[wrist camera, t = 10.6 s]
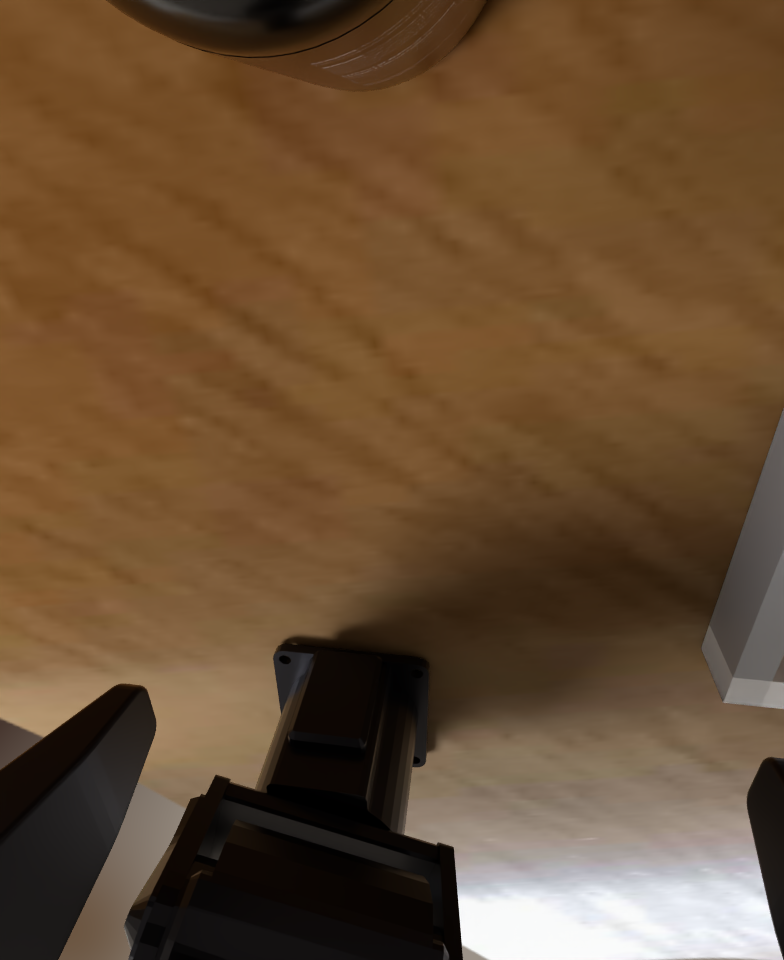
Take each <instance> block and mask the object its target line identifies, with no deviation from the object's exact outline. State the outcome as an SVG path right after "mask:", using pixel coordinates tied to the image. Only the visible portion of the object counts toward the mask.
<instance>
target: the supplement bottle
mask: <svg viewBox="0 0 784 960" xmlns="http://www.w3.org/2000/svg"><path fill="white" fill-rule="evenodd" d="M106 1H108V2H109V3H110V4H112V5H113V6H114V7H116V8H117V9H118V10H120V11H121V12H123V13H124V14H126V15H127V16H129V17H131V18H132V19H134V20H136V21H137V22H139V23H141V24H142V25H144V26H146V27H148V28H150V29H152V30H154V31H156V32H158V33H160V34H162V35H164V36H167V37H169V38H171V39H173V40H175V41H177V42H179V43H182V44H185V45H187V46H190V47H193V48H196V49H199V50H202V51H205V52H208V53H211V54H214V55H218V56H221V57H224V58H228V59H231V60H234V61H238V62H241V63H244V64H248V65H251V66H255V67H258V68H261V69H265V70H268V71H271V72H275V73H278V74H282V75H285V76H288V77H292V78H295V79H298V80H302V81H305V82H309V83H312V84H315V85H319V86H324V87H328V88H333V89H338V90H345V91H372V90H379V89H384V88H388V87H392V86H396V85H398V84H401V83H403V82H406V81H409V80H410V79H412V78H414V77H416V76H418V75H420V74H422V73H423V72H425V71H426V70H428V69H429V68H431V67H432V66H434V65H435V64H436V63H437V62H439V61H440V60H441V59H442V58H444V57H445V56H446V55H447V54H448V53H449V52H450V51H451V50H452V49H453V48H454V47H455V46H456V45H457V44H458V42H459V41H460V40H461V39H462V38H463V36H464V35H465V34H466V33H467V32H468V30H469V29H470V27H471V26H472V24H473V23H474V22H475V20H476V19H477V17H478V15H479V14H480V12H481V10H482V8H483V7H484V5H485V3H486V1H487V0H106Z"/></svg>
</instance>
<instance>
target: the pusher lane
mask: <svg viewBox="0 0 784 960" xmlns="http://www.w3.org/2000/svg"><path fill="white" fill-rule="evenodd" d="M701 650H702V652H703V655H704V657H705V659H706V662H707V664H708V667H709V669H710V672H711V674H712V677H713V679H714V682H715V684H716V686H717V689H718V691H719V694H720V696H721V699H722V701H723V703H731V704H741V705H750V706H760V707H770V708H779V709H784V409H783V412H782V415H781V417H780V420H779V423H778V426H777V429H776V432H775V435H774V438H773V441H772V444H771V446H770V449H769V452H768V455H767V458H766V461H765V464H764V467H763V470H762V473H761V475H760V478H759V481H758V484H757V487H756V490H755V493H754V496H753V499H752V502H751V505H750V507H749V510H748V513H747V516H746V519H745V522H744V525H743V528H742V531H741V534H740V536H739V539H738V542H737V545H736V548H735V551H734V554H733V557H732V560H731V563H730V565H729V568H728V571H727V574H726V577H725V580H724V583H723V586H722V589H721V592H720V594H719V597H718V600H717V603H716V606H715V609H714V612H713V615H712V618H711V621H710V624H709V626H708V629H707V632H706V635H705V638H704V641H703V644H702V647H701Z"/></svg>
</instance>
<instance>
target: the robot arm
mask: <svg viewBox="0 0 784 960" xmlns="http://www.w3.org/2000/svg"><path fill="white" fill-rule="evenodd" d="M284 655H285V656H284ZM286 656H288V657H286ZM273 660H274V667H275V674H276V681H277V688H278V695H279V702H280V709H281V717H280V720H279V723H278V726H277V729H276V731H275V734H274V737H273V740H272V743H271V745H270V748H269V751H268V754H267V757H266V759H265V762H264V765H263V768H262V771H261V773H260V776H259V779H258V782H257V785H256V787H255V789H252V788H248V787H245V786H242V785H239V784H235V783H232V782H230V780H231V779H229V778H226V777H222V776H219V775H215V777H214V779H213V781H212V783H211V786H210V788H209V790H208V792H207V793H206V795H203V794H201V795H200V797H196V798H192V799H190V802H189V804H188V806H187V808H186V810H185V813H184V815H183V817H182V819H181V822H180V824H179V826H178V828H177V830H176V833H175V835H174V837H173V839H172V841H171V843H170V845H169V847H168V848H167V850H166V852H165V854H164V856H163V857H162V859H161V860H160V862H159V863H158V865H157V867H156V868H155V870H154V871H153V873H152V875H151V876H150V878H149V880H148V881H147V883H146V884H145V886H144V888H143V889H142V891H141V892H140V894H139V895H138V897H137V899H136V900H135V902H134V904H133V905H132V907H131V909H130V911H129V914H128V916H127V919H126V922H125V925H124V930H125V933H126V936H127V939H128V943H129V946H130V950H131V952H130V956H129V960H463V956H462V943H461V931H460V919H459V906H458V894H457V882H456V870H455V858H454V848H453V847H452V846H449V845H445V844H442V843H439V842H438V843H437V845H435V844H432V843H429V842H426V841H422V840H419V839H416V838H413V837H409V836H406V835H404V831H405V822H406V814H407V806H408V798H409V790H410V781H411V773H412V767H421V766H423V765H424V764H425V762H426V755H427V731H428V705H429V679H430V666H429V663H428V662H427V661H426V660H424V659H422V658H418V657H409V656H399V655H389V654H379V653H370V652H360V651H350V650H340V649H330V648H321V647H311V646H301V645H291V644H282V645H279V646H278V647H277V649H276V651H275V654H274V657H273ZM414 669H418V670H420V671H417V670H414ZM155 732H156V718H155V715H154V711H153V708H152V705H151V701H150V698H149V694H148V691H147V689H146V688H145V687H144V686H141V685H132V684H118V685H116V686H114V687H112V688H111V689H110V690H108V691H107V692H106V693H104V694H103V695H101V696H100V697H99V698H97V699H96V700H95V701H93V702H92V703H91V704H89V705H88V706H86V707H85V708H84V709H82V710H81V711H80V712H78V713H77V714H76V715H74V716H73V717H71V718H70V719H69V720H67V721H66V722H65V723H63V724H62V725H61V726H59V727H58V728H57V729H55V730H54V731H52V732H51V733H50V734H48V735H47V736H46V737H44V738H43V739H42V740H40V741H39V742H37V743H36V744H35V745H33V746H32V747H31V748H29V749H28V750H27V751H25V752H24V753H23V754H21V755H20V756H18V757H17V758H16V759H14V760H13V761H12V762H10V763H9V764H8V765H6V766H5V767H3V768H2V769H1V770H0V960H58V959H59V957H60V955H61V953H62V951H63V949H64V946H65V945H66V942H67V940H68V938H69V936H70V934H71V932H72V930H73V928H74V926H75V924H76V922H77V919H78V917H79V915H80V913H81V911H82V909H83V907H84V905H85V903H86V901H87V898H88V897H89V894H90V893H91V890H92V888H93V886H94V884H95V882H96V880H97V878H98V876H99V874H100V872H101V870H102V867H103V866H104V863H105V861H106V859H107V857H108V855H109V853H110V851H111V849H112V846H113V844H114V842H115V840H116V838H117V835H118V833H119V830H120V828H121V825H122V823H123V820H124V818H125V815H126V812H127V809H128V806H129V804H130V801H131V798H132V796H133V793H134V790H135V787H136V785H137V782H138V780H139V777H140V774H141V771H142V769H143V766H144V763H145V760H146V758H147V755H148V752H149V750H150V747H151V744H152V741H153V739H154V736H155ZM747 809H748V815H749V819H750V824H751V828H752V833H753V837H754V842H755V846H756V851H757V855H758V860H759V864H760V869H761V873H762V878H763V882H764V887H765V891H766V896H767V900H768V905H769V909H770V914H771V918H772V922H773V926H774V930H775V934H776V937H777V940H778V944H779V947H780V950H781V953H782V957H783V960H784V759H782V758H774V757H768V758H766V759H765V760H763V762H762V763H761V765H760V767H759V770H758V772H757V774H756V776H755V778H754V780H753V782H752V784H751V786H750V789H749V791H748V794H747Z"/></svg>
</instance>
